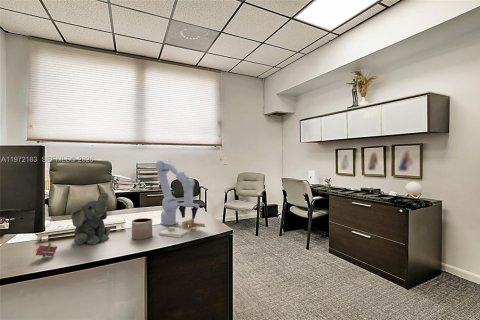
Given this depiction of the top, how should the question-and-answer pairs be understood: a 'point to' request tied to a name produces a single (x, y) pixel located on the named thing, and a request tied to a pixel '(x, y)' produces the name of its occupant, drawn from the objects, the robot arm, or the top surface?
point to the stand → (175, 232)
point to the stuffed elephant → (91, 221)
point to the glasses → (191, 224)
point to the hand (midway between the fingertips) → (188, 217)
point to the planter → (141, 228)
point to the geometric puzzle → (46, 250)
